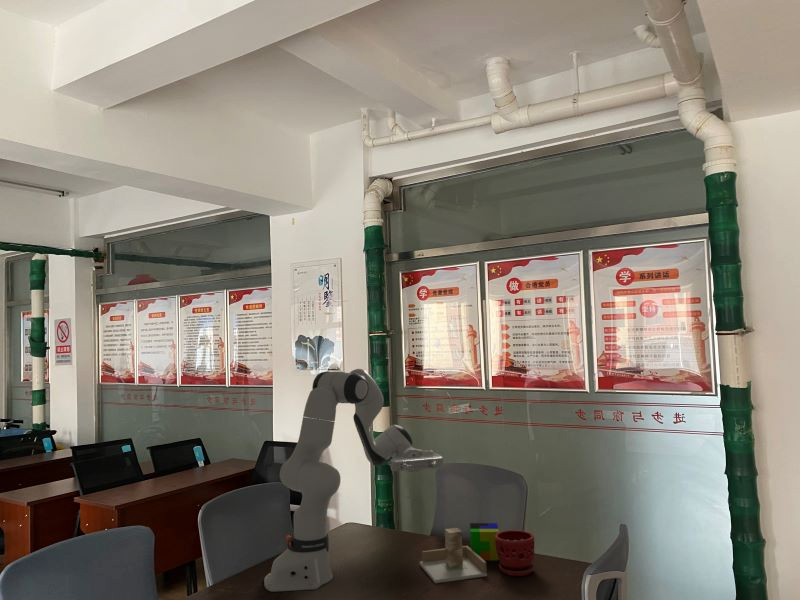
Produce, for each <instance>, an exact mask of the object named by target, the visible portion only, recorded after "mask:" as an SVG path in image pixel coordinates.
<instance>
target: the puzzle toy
mask: <svg viewBox="0 0 800 600" xmlns="http://www.w3.org/2000/svg"><path fill="white" fill-rule="evenodd" d="M469 526H470V527H469V529H470V530H469V532H470V533H469V535H470V537H469V538H470V548H471V549H472V550H473V551H474V552H475V553H476V554H478V555H479V556H480V557H481V558H482V559H483V560H484V561H498V559H499V558H498V555H497V551H496V545H495V535H496V534H497V533H499V532H500V530H499V526H498V523H497V522H494V523H493V522H490V523H489V522H487V523H486V522H485V523H484V522H483V523H481V522H470V523H469Z"/></svg>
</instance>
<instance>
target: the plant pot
mask: <svg viewBox="0 0 800 600" xmlns="http://www.w3.org/2000/svg"><path fill="white" fill-rule="evenodd" d="M495 545H496V551H497V555H498V558H499V560H500V561H499V565H498V568H499V570H500V571H501V572H502V573H504V574H505V575H509V576H515V577H516V576H518V577H519V576H521V577H522V576H528V575H529V574H531V573H532V572H533V571H534V570H535V565H534V564H533V560H534V557H535V536H534V534H533V533H531V532H529V531H525V530H513V529H511V530H503V531H499V533H497V534H496V535H495Z"/></svg>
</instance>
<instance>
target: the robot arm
mask: <svg viewBox="0 0 800 600" xmlns="http://www.w3.org/2000/svg"><path fill="white" fill-rule="evenodd" d="M311 386H312V389H311V390H310V392H309V394H308V397H307V399H306V403H305V406H304V411H303V415H302V420H301V427H300V432H299V435H298V436H299V437H298V440H297V443H296V445H295V448H294V450H293V452H292V454H291V456H289V458H288V459H287V460H286V461H285V462H283V464H282V465H281V466H280V470H279V479H280V482H281V484H283V485H284V486H285V487H287V488H288V489H289V490H291V491H295V492H299V493H301V495H302V497H301V502H300V505H299V506H298V507H297V508H296V509H295V511H294V513H293V536H291V535H289V534H288V535H286V537H285V542H286V543H287V549H285V550H284V551H283V552H282V553H280V554H279V556H277V557H276V558H275V559H274V560H273V561H272V564H271V565H272V566H271V569H270V572H269V573H268V574H267V575H266V576H265V577H264V579H263V580H264V581H263V582H264V583H263V585H264V588H265V589H266V590H267V591H269V592H273V593H275V592H290V591H307V590H308V591H309V590H317V589H319V588H320V587H321V586H323V585H324V584H328V583H329V582H330V581H332V579H333V577H334V576H333V573H332V569H331V565H330V558H329V551H330V550H329V549H330V538H329V534H328V524H327V523H328V507H329V505H330V501H331V500H332V498H333V496H334V495H335V494H336V493H337V491H338V490H339V488H340V486H341V474H340V472H339V470H338V469H337V468H335V467H334V466H332V465H331V464H328V463H327V462H321V461H320V459H321V456H322V454H323V452H324V451H325V450H326V449H328V448H329V447H330V446H331V444H332V442H333V441H332V440H333V434H334V428H335V422H336V421H335V420H336V413H337V406H338V404H351V405H353V404H354V407H355V409H354V411H355V412H354V414H353V416H352V417H353V418H352V419H353V422H354V426H355V428H356V432H357V433H358V436H359V439H360V442H361V444H362V448H363V451H364V455H365V457H366V459H367V461H368V462H369V463H370V464H371V465H373V466H376V467H377V466H381V467H382V466H383V465H385V464H386V465H388V466H390V470H391V471H392V472H403V471H405V472H408V473H416V472H419V471H422V470H425V469H438V468H443V467H444V458H443V456H442V455H440V454H438V453H437V452H436V453H435V451H433V450H431V449H419V448H415V447H413V439H412V436H411V435H410V433H409V432H408V431H407V430H406V429H405V428H404V427H402V426H401V425H398V424H391V425H389V426H388V427H387V428H386V429H385V430H384V431H382V432H381V433H380V434H379V435H377V436H376V437H375V438H374V439H373V437H372V434H371V430H370V428H371V426H372V424H373V422H374V420H375V419H376V418H377V416H378V415H379V414H380V413H381V411H382V409H383V406H384V404H385V403H384V402H385V400H384V399H385V398H384V395H383V393H382V391H381V389H380V387H379V385H378V383H377V382H376V381H375V380H374V378H373V377H372V376H371V374H369V373H368V372H367V370H365V369H362V368H355V369H352V370H351V371H350V372H344V371H330V370H329V371H328V370H327V371H322V372H319V373H318V374H316V376H315V377H314V380H313V382H312V385H311ZM389 459H390V460H389ZM388 460H389V461H388Z"/></svg>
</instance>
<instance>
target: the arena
mask: <svg viewBox="0 0 800 600" xmlns="http://www.w3.org/2000/svg"><path fill="white" fill-rule="evenodd" d="M421 553H422V555H421V558H422V561H419V566H420V567H421V568H422V569H423V571H424V572H425V573H426V574H427V575H428V576H429V578H430V579H431V580H432V582H433V583H434V584H440V583H446V582H454V581H461V580H467V579H469V580H470V579H476V578H483V577H487V576H488V575H487V574H488V573H487V572H488V570H487V562H486V560H483V559H482V558H481V557H480V556H479V555H478V554H476V553H475V552H474V551H473V550H472V549H471V546H470V547H469V545H462V557H463V568H457V569H450V568H449V567H448V566H447V565H446V550H445V548H438V549H437V548H436V549H430V550H422V552H421Z"/></svg>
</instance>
